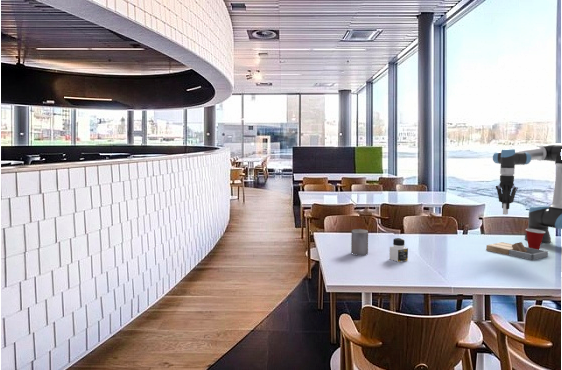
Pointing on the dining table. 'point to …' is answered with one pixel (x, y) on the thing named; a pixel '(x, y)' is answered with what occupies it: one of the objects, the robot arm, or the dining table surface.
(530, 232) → the plastic cup
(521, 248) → the brown square block
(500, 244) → the board
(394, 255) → the medicine bottle
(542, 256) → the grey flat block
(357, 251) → the pillar candle
